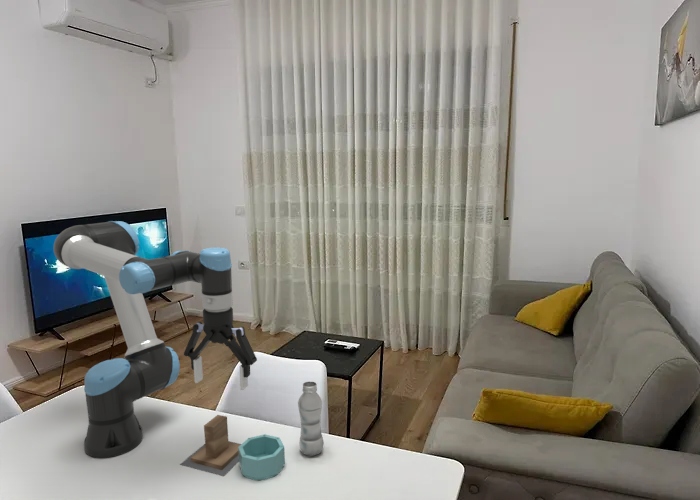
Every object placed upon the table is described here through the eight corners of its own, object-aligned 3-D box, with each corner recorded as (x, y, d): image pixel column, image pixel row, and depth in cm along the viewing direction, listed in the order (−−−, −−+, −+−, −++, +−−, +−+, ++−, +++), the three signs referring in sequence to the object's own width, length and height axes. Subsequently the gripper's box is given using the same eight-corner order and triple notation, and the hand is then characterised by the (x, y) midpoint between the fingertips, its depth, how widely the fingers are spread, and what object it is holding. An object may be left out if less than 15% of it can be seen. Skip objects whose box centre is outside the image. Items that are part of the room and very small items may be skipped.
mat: (179, 465, 131) (179, 464, 131) (212, 438, 144) (212, 437, 144) (223, 477, 126) (223, 476, 126) (253, 448, 139) (253, 447, 139)
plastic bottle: (320, 460, 133) (318, 390, 130) (296, 457, 134) (294, 388, 131) (326, 446, 139) (325, 380, 136) (303, 444, 141) (301, 378, 137)
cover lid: (190, 461, 132) (188, 426, 131) (214, 442, 142) (211, 409, 140) (222, 470, 129) (219, 434, 127) (243, 449, 138) (241, 415, 136)
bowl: (232, 475, 127) (231, 453, 126) (255, 451, 137) (254, 432, 136) (269, 485, 123) (268, 463, 122) (290, 460, 133) (290, 439, 132)
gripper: (167, 307, 128) (172, 384, 132) (254, 317, 121) (257, 397, 125) (184, 299, 135) (188, 372, 139) (268, 308, 128) (270, 384, 132)
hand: (221, 384), depth 132 cm, fingers open, 13 cm apart
